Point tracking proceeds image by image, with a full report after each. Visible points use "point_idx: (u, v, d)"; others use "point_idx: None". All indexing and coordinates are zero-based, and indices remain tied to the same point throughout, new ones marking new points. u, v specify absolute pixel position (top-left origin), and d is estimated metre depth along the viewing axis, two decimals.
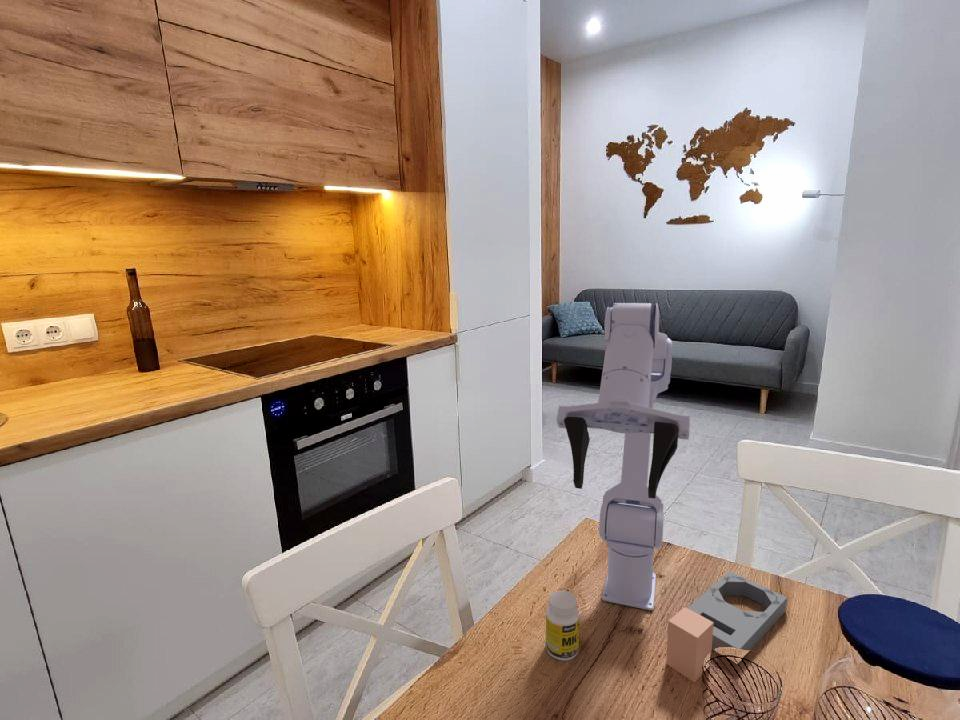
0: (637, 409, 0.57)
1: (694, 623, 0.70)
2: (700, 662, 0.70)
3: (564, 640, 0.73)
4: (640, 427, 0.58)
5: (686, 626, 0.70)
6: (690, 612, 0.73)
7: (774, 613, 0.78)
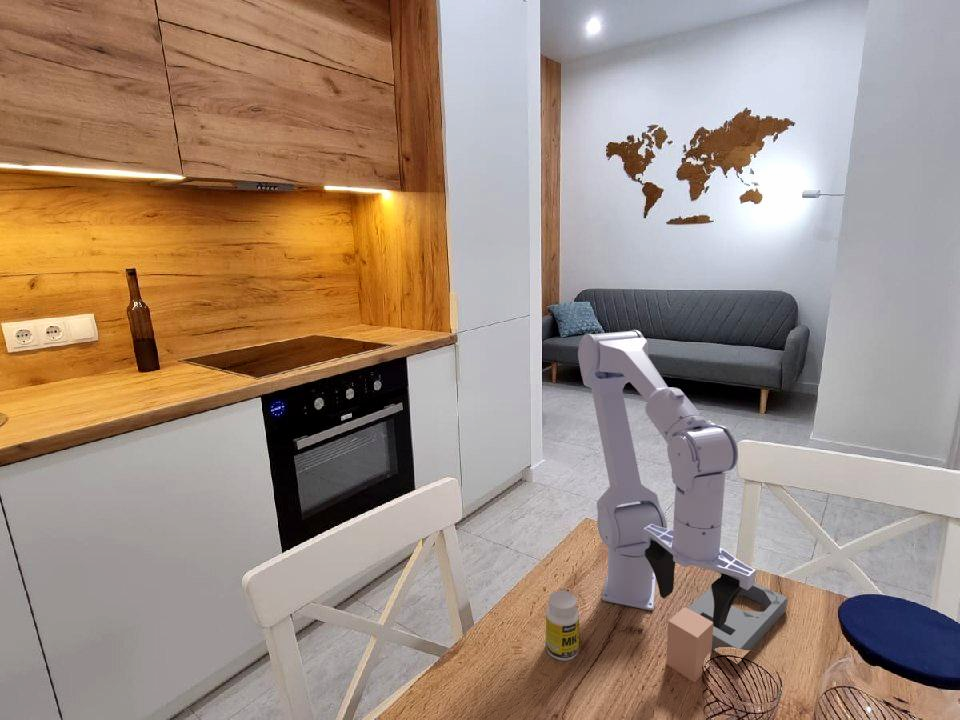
0: (698, 566, 0.65)
1: (694, 623, 0.70)
2: (700, 662, 0.70)
3: (564, 640, 0.73)
4: None
5: (686, 625, 0.70)
6: (690, 612, 0.73)
7: (774, 613, 0.78)
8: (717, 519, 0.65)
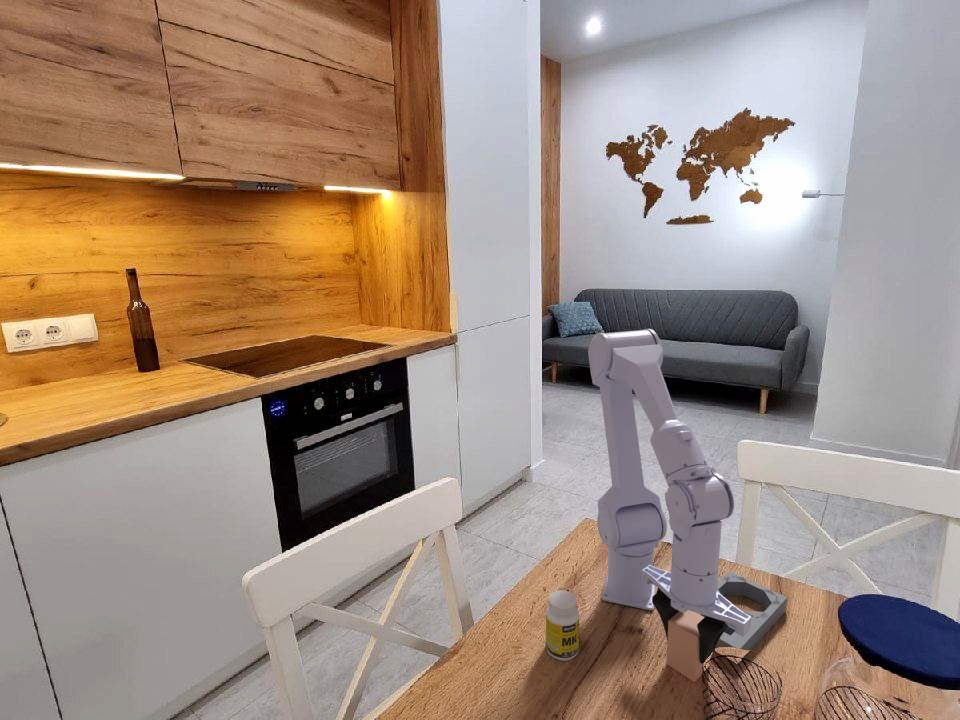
0: (695, 611, 0.67)
1: (694, 623, 0.70)
2: None
3: (564, 640, 0.73)
4: None
5: (686, 625, 0.70)
6: (690, 612, 0.73)
7: (774, 613, 0.78)
8: (714, 566, 0.66)
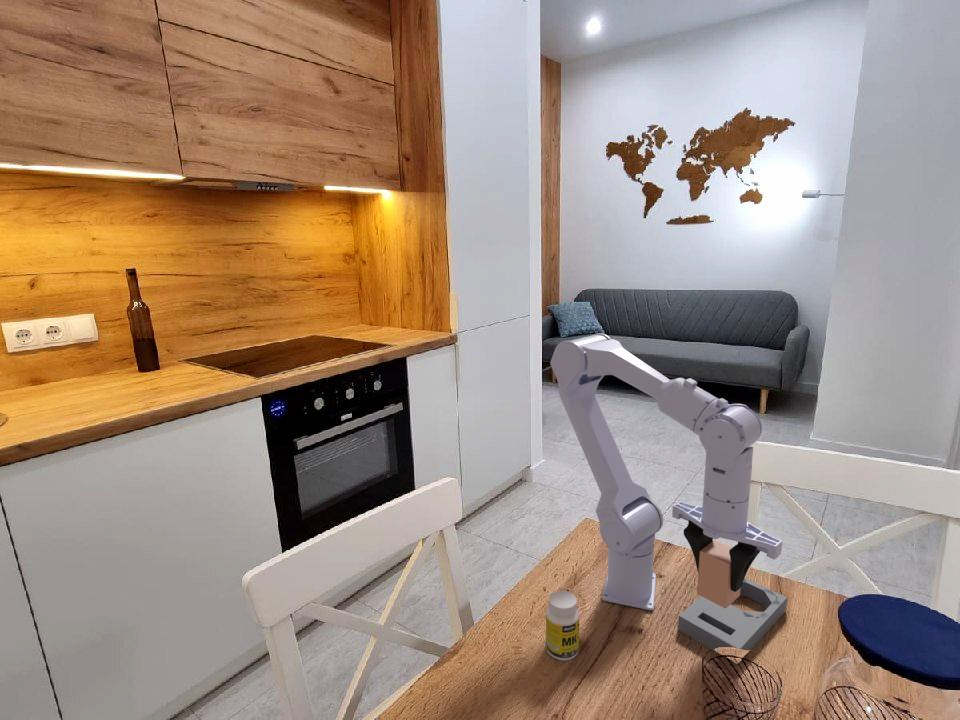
0: (727, 538, 0.70)
1: (725, 552, 0.73)
2: (730, 589, 0.72)
3: (564, 640, 0.73)
4: None
5: (717, 555, 0.73)
6: (720, 544, 0.75)
7: (774, 613, 0.78)
8: (749, 490, 0.70)
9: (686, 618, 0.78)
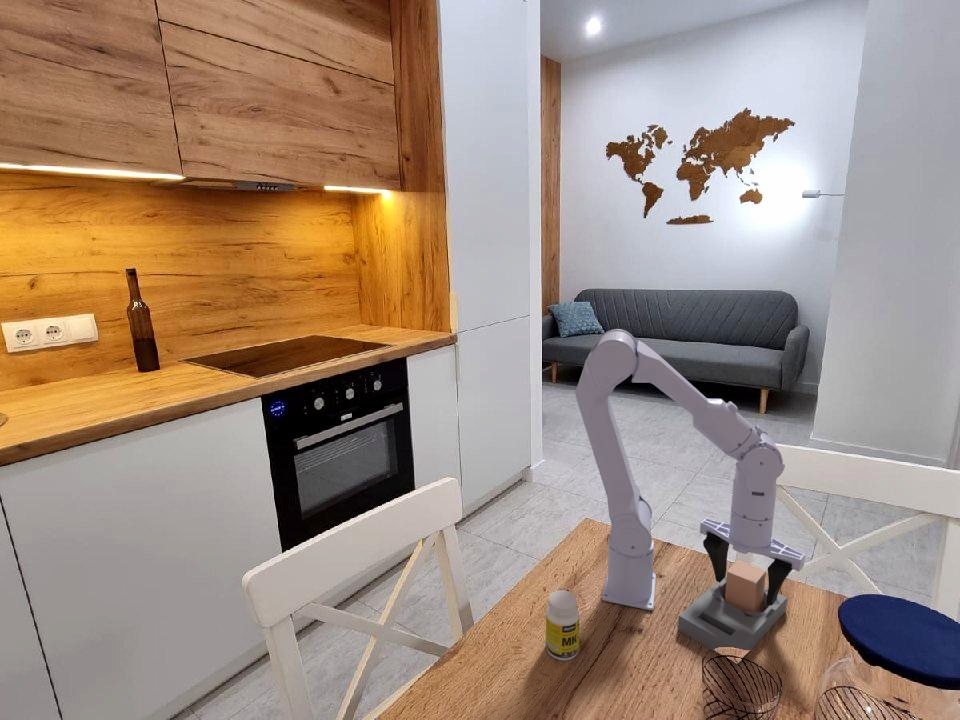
0: (755, 553, 0.77)
1: (750, 572, 0.81)
2: (756, 605, 0.80)
3: (564, 640, 0.73)
4: None
5: (743, 574, 0.80)
6: (744, 563, 0.83)
7: (774, 613, 0.78)
8: None
9: (686, 618, 0.78)
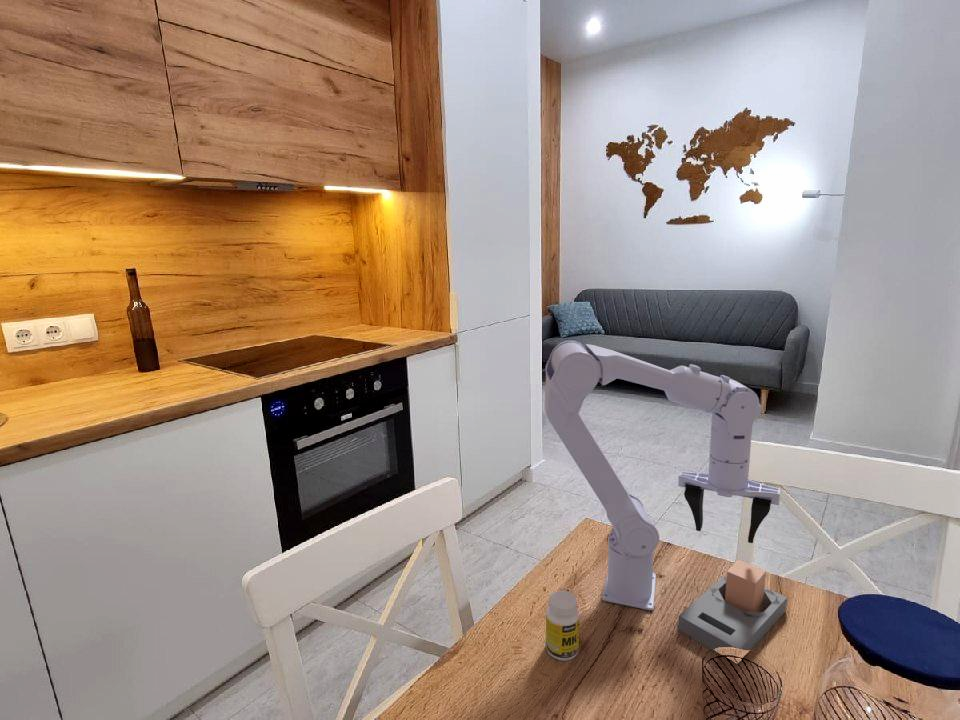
0: (738, 495, 0.80)
1: (750, 572, 0.81)
2: (756, 605, 0.80)
3: (564, 640, 0.73)
4: None
5: (743, 574, 0.80)
6: (744, 563, 0.83)
7: (774, 613, 0.78)
8: None
9: (686, 618, 0.78)
